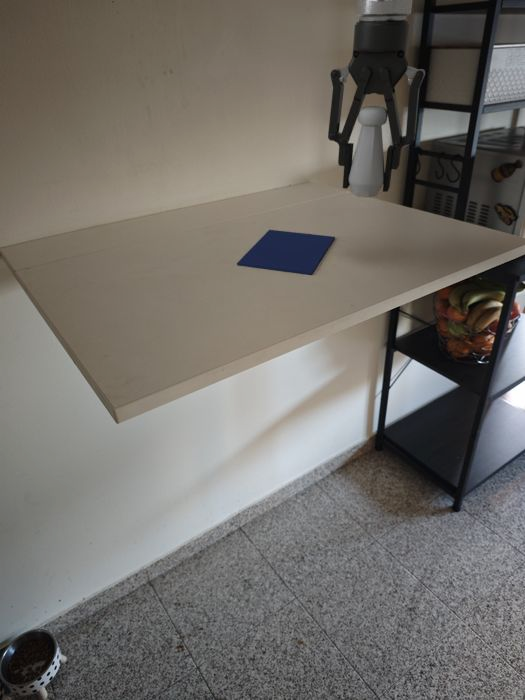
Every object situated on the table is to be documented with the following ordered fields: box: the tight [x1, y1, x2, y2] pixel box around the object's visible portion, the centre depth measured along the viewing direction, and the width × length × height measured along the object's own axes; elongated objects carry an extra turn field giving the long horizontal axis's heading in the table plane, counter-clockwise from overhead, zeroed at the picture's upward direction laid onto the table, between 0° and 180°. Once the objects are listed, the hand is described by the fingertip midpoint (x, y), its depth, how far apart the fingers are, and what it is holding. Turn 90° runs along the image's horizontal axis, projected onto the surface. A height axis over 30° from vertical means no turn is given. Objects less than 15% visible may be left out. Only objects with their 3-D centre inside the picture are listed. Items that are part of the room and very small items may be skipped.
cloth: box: [236, 229, 336, 276], centre depth 95 cm, size 14×18×1 cm
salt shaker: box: [348, 105, 388, 198], centre depth 79 cm, size 6×6×13 cm
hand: (366, 187), depth 82 cm, fingers closed on salt shaker, 6 cm apart
